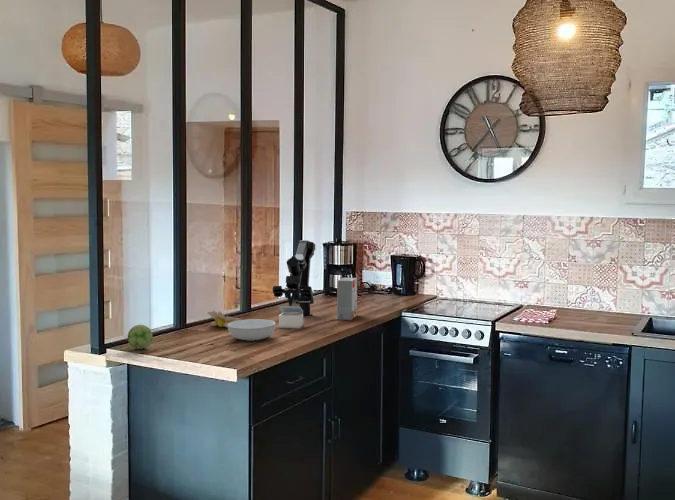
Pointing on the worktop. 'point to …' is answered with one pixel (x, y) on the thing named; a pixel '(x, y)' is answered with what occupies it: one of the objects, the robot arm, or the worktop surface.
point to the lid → (291, 309)
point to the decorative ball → (140, 336)
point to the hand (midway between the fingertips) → (290, 305)
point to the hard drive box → (346, 298)
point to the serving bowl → (251, 329)
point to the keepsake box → (291, 320)
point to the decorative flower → (221, 319)
